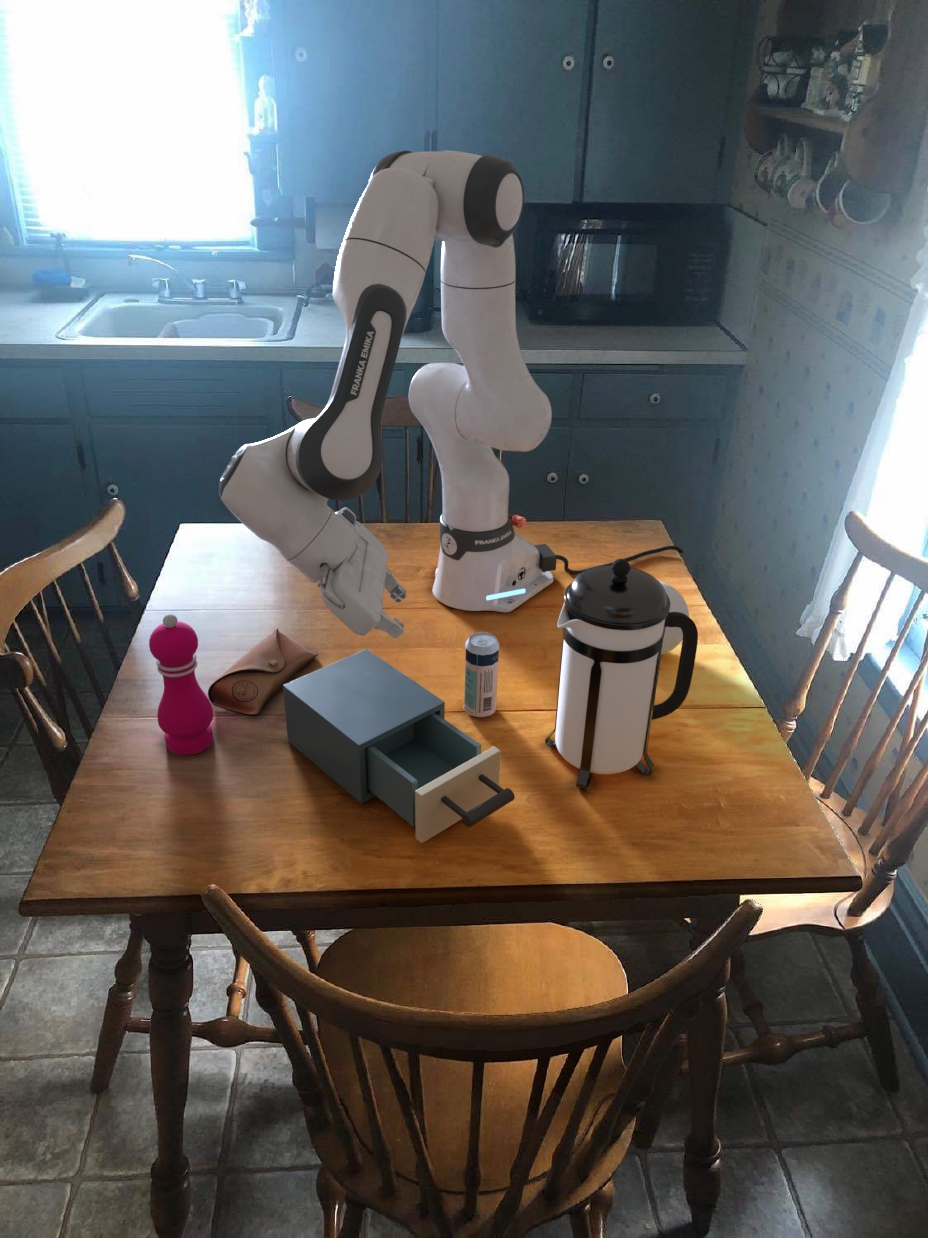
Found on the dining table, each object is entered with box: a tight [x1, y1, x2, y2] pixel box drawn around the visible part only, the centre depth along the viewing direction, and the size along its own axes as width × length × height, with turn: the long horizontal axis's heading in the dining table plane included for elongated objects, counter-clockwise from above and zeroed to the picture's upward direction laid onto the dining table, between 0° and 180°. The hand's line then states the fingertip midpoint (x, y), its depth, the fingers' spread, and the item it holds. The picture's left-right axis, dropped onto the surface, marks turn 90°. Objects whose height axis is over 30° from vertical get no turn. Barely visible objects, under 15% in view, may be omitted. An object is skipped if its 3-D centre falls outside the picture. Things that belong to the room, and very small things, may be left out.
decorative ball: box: [658, 580, 690, 656], centre depth 148 cm, size 12×12×12 cm
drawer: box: [365, 713, 516, 844], centre depth 117 cm, size 21×13×7 cm, turn 42°
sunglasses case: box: [207, 627, 319, 716], centre depth 141 cm, size 18×7×7 cm
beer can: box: [463, 631, 501, 718], centre depth 133 cm, size 5×5×12 cm
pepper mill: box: [148, 613, 215, 756], centre depth 124 cm, size 7×7×20 cm
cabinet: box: [282, 648, 446, 805], centre depth 126 cm, size 17×14×9 cm
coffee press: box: [544, 558, 699, 791], centre depth 121 cm, size 17×16×30 cm
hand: (401, 614), depth 128 cm, fingers open, 8 cm apart
